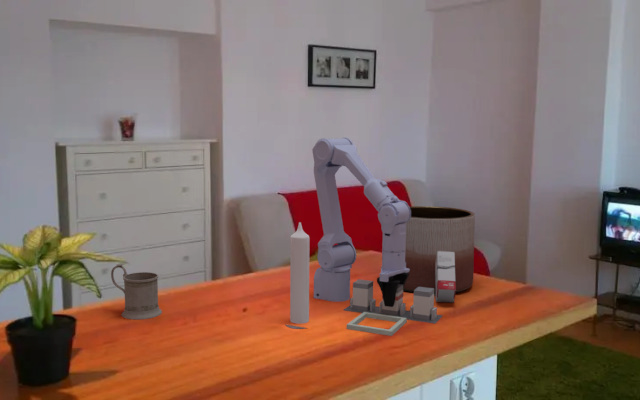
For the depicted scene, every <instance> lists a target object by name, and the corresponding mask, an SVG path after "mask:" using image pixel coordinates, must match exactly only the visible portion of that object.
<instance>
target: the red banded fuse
mask: <svg viewBox="0 0 640 400" xmlns="http://www.w3.org/2000/svg"><path fill="white" fill-rule="evenodd" d="M381 297H382V299H381V301H382V314H387V315H394V316H398V315H399V314H400V305H402V304H403V303H404V302H403V301H404V290H403V285H401V284H399V285H398V288H397V291H396V296H395V303H394V306H393V307H388V306H385V304H384V300H383V295H382V294H381Z"/></svg>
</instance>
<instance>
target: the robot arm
mask: <svg viewBox="0 0 640 400" xmlns="http://www.w3.org/2000/svg"><path fill="white" fill-rule="evenodd" d="M311 150H312V157H313V162H314V163H313V175H314V177H313V178H314V182H315V183H314V184H315V188H316V194H317V200H318V206H319V214H320V219H321V224H322V231H323V235H322V237H321V238H320V240H319V241H318V243H317V247H318V249H317V262H318V265H319V266H320V267H318V268H317V269H316V270H315V272H314V275H313V299H317V300H323V301H328V302H333V303H335V302H336V303H340V302H347V301H350V299H351V269H352V268H353V264H355V262H356V260H357V251H356V248H355V246H354V244H353V241H352V238H351V237H350V236H349V234H347V233H346V232H345V231H344V230H345V229H344V225H343V224H344V223H343V218H342V211H341V205H340V200H339V194H338V193H339V192H338V187H337V181H336V173H337V172H338V171H339V169H341V168H342V167H346V169H347V170H349V172H350V173H351V174H352V175H353V176H354V177H355V178H356V180H358V181H359V182H360V184H361V185H362V186H363V194H364V196H365V197H366V199H368V201H369V202H370V203H371V204H372V206H373V207H374V208H375V210H376V212H378V213H377V218H378V221H379V223H380V225H381V227H380V228H381V232H382V244H381V246H382V249H381V252H382V254H381V255H382V256H381V267H380V272H379V276H378V277H377V278H376V282H377V285H378V287H379V288H380V292H381V296H382V295H383V300H384V304H385V306H388V307H393V306H394V303H395V296H396V291H397V288H398V285H399V284H401V285H403V288H404V285H405V282H406V280H407V278H408V276H409V273H408V272H409V271H410V269H409V268H406V262H405V248H406V223H407V222H408V221H409V220H410V218H411V210H410V207H411V206H410V205H409V204H408V202H406V201H405V200H401V199H399V198H398V196H397V195H395V194H394V193H393V191H391V189H390V187H388V183H387V182H386V181H385V180H383V179H381V178H375V176H374V175H373V173H372V172H371V171H370V169H369V168H368V167H367V165H366V164H365V162H364V161H363V159H362V158H361V156H360V155H359V154H358V147H357V145H355V144H354V142H353V140H351V139H350V138H349V137H342V138H337V137H336V138H325V137H322V138H320V139H318V140H317V141H316V143H315V144H314V146H313V147H312V149H311Z"/></svg>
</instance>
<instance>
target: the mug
mask: <svg viewBox="0 0 640 400" xmlns="http://www.w3.org/2000/svg"><path fill="white" fill-rule="evenodd" d="M124 265H125V264H124V263H118V264H116V265H115V266H114V267H112V269H111V271H110V277H111V281H112V283H113V285H114V286H115V287H117V289H119V290H121V291H122V292H123V293H124V309H123V311H122V312H121V317H122V318H124V319H128V320H147V319H148V320H149V319H153V318H156V317H158V316H161V315H162V314H163V310H162V309H161V308H160V306H159V289H158V287H159V285H158V284H159V283H158V279H159V274H157V273H155V272H145V271H142V272H140V271H139V272H132V273H128V272H127V269H126V268H125V267H124ZM118 268H119V269H122V270H123V275H122V277H123V278H122V279H123V281H124V282H123V283H124V285H123V286H124V288H123V287H121V286H120V285H118V284H117V282H116V280H115V277H114V272H115V270H116V269H118Z"/></svg>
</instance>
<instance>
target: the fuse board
mask: <svg viewBox="0 0 640 400" xmlns="http://www.w3.org/2000/svg"><path fill="white" fill-rule="evenodd" d="M376 304H377V302H376V298H373V300H371V301H370V310H369V311H367V312H369V313H376V314H382V300H381V301H380V302H379V306H377V305H376ZM406 305H407V304H406V303H405V302H403V304H402V305H400V314H399V315H398V316H396V317H403V318H407V321H415V322H421V323H428V324H437V323H438V321H440V319H441V318H443V316H444V315H443V314H438V313H437V312H438V307H435V306H434V308H433V309H432V316H431V319H430V320H429V321H428V320H421V319H415V318H413V304H412V305H411V306H410V308H409V310H406V309H407V308H406V307H407V306H406ZM343 311H346V312H353V313H359V314H362V313H363V312H366V311H359V310H353V296H352V297H350V299H349V305H348V306H347V307H346V308H343ZM383 315H387V314H383ZM389 316H394V315H389Z"/></svg>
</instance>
